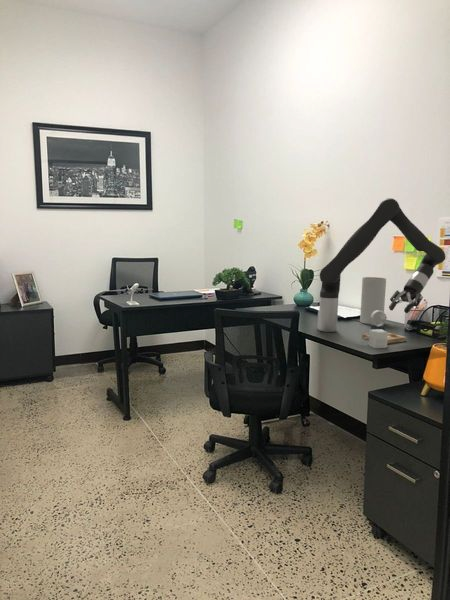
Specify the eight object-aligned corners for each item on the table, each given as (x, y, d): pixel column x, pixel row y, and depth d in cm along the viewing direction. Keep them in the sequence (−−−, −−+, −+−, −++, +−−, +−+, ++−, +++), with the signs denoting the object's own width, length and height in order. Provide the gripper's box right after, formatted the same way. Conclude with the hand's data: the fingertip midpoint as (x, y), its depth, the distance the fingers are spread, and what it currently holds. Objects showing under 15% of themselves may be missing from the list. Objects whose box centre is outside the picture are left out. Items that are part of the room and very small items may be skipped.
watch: (387, 332, 244) (389, 311, 242) (373, 333, 242) (374, 311, 240) (381, 330, 249) (382, 309, 248) (367, 330, 247) (368, 309, 246)
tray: (362, 338, 231) (362, 334, 230) (382, 335, 238) (382, 331, 237) (385, 344, 219) (385, 340, 218) (405, 341, 226) (406, 337, 225)
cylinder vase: (358, 323, 265) (361, 278, 261) (361, 320, 276) (363, 276, 273) (382, 326, 260) (385, 280, 257) (384, 321, 272) (387, 277, 268)
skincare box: (380, 344, 218) (381, 329, 217) (387, 348, 212) (388, 331, 211) (368, 345, 217) (369, 329, 216) (374, 348, 211) (375, 332, 210)
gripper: (400, 277, 226) (381, 303, 222) (425, 279, 214) (406, 307, 210) (407, 287, 230) (389, 313, 226) (433, 290, 217) (414, 318, 213)
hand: (397, 310), depth 218 cm, fingers open, 8 cm apart
